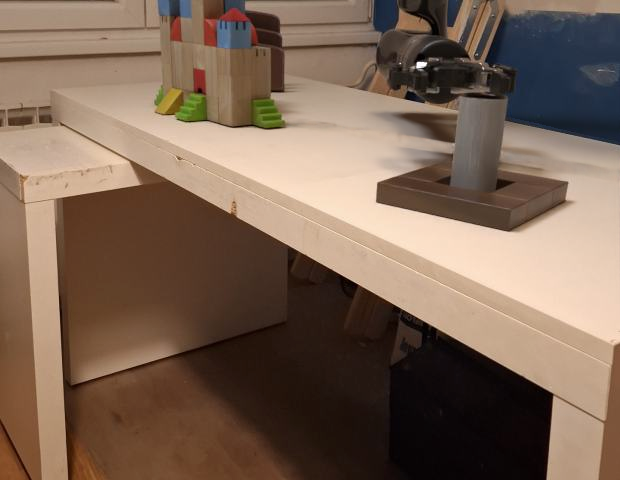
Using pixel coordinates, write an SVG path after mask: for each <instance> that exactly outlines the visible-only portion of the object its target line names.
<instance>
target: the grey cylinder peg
mask: <svg viewBox="0 0 620 480" xmlns="http://www.w3.org/2000/svg"><path fill="white" fill-rule="evenodd" d="M508 102H509V97H508V96H507V95H506V94H505V95H501V94H494V93H491V92H485V93H481V92H470V93H462V94H461V95H460V96H459V103H458V112H457V121H456V128H455V129H456V130H455V137H454V146H453V156H452V161H453V164H452V172H451V181H450V186H454V187H460V188H465V189H470V190H475V191H480V192H485V193H492V192H494V191H495V190H496V182H497V175H498V169H499V168H500V162H501V161H500V159H501V153H502V147H503V138H504V131H505V125H506V117H507V109H508V104H509V103H508Z"/></svg>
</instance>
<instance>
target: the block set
mask: <svg viewBox="0 0 620 480" xmlns="http://www.w3.org/2000/svg"><path fill="white" fill-rule="evenodd" d="M157 10H158V11H157V12H158V19H159V20H158V21H159V36H160V37H159V39H160V41H159V42H160V56H161V57H160V59H161V78H162V80H161V81H162V84H161V85H160V89H158V94H156V98H155V99H154V100H153V103H154V105H156V107H155V109H154V110H153V111H154V112H155V113H158V114H160V115H165V116H166V115H174V117H175V119H177V120H180V121H184V122H193V121H194V122H197V121H205V120H207V121H211V122H214V123H217V124H221V125H225V126H229V127H240V126H249V125H250V126H251V125H252V126H253V125H254V126H257V127H260V128H264V129H270V128H276V127H277V128H279V127H285V125H286V121H285V119H282V113H280V112H279V107H278V106H277V105H275V99H273V98H272V97H271V96H272V95H271V94H272V91H271V49H270V48H265V47H259V46H257V44H258V39H257V34H256V31H255V28H254V26H253V25H252V23H251V20H249V19H248V18H247V17H246V16H245V10H246V0H157Z"/></svg>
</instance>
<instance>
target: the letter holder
mask: <svg viewBox="0 0 620 480" xmlns="http://www.w3.org/2000/svg"><path fill="white" fill-rule="evenodd" d="M245 16H246V17H247V18H248V19H249V20H251V23H252V25H253V26H254V28H255V31H256V34H257V39H258V44H257V46H259V47H265V48H270V49H271V92H282V93H283V92H284V91H285V59H286V57H285V55H286V54H285V50H284V49H283V35H282V34H281V20H280V17H279V16H278V15H276V14H273V13H268V12H263V11H256V10H248V9H245Z"/></svg>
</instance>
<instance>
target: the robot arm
mask: <svg viewBox="0 0 620 480" xmlns="http://www.w3.org/2000/svg"><path fill="white" fill-rule="evenodd" d="M396 3H397V6H398V8H399V10H400V11H401V12H403V13H405V14H407V15H410V16H412V17H415V18H418V19H421V20H423V21H425V22H426V23H427V24H428V25H427V26H428V27H427V30H418V29H417V30H416V29H406V28H391V29H389V30H387V31H385V32H384V33H383V34H382V36H381V37H380V38H379V40H378V42H377V45H376V48H375V55H374V56H375V64H376V68H377V71H378V73H379V74H380V76H381V77H382V79H384V80H386V85H387V86H388V88H389V90H392V91H396V92H397V91H398V90H399V91H400V90H401V89H402V86H404V87H406V91H409V92H411V93H414V94H415V95H416V96H418V97H419V98H420V99H421V100H423V101H425V102H426V103H429V104H433V105H445V104H449V103H451V102H453V101H455V100H456V99H458V98H460V95H461V94H462V93H470V92H481V93H494V94H501V95H505V96H506V94H512V93H515V92H516V83H517V75H518V71H519V70H518V69H517V68H515V67H511V66H507V65H506V64H505V65H504V64H501V63H498V62H497V63H494V64H492V66H491V67H490V65H489V63H488V62H485V61H484V62H483V61H476V60H475V61H474V60H472V58H471V57H470V54H469V53H468V51H467V49H466V48H465V47H464V46H463V45H462V44H460V43H459V42H457V41H456V40H453V39H450V38H449V37H448V36H449V35H448V5H449V0H397V1H396ZM487 81H488V82H489V85H488V84H487Z"/></svg>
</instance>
